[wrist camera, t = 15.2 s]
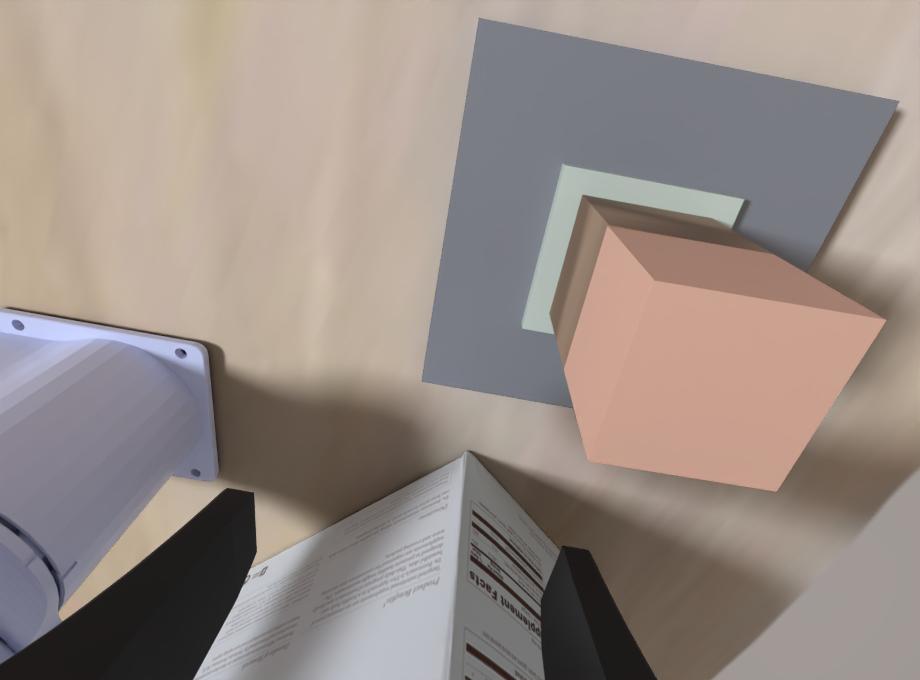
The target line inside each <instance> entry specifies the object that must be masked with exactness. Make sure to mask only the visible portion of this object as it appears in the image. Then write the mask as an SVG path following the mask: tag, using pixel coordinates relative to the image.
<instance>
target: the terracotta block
mask: <svg viewBox="0 0 920 680" xmlns="http://www.w3.org/2000/svg"><path fill="white" fill-rule="evenodd" d="M886 321H887V320H886V319H884V318H883V317H881V316H879V315H877V314H876V313H874V312H872V311H870V310H869V309H867V308H865V307H864V306H862V305H860V304H858V303H857V302H855V301H853V300H852V299H850V298H848V297H846V296H845V295H843V294H841V293H839V292H838V291H836V290H834V289H833V288H831V287H829V286H827V285H826V284H824V283H822V282H821V281H819V280H817V279H815V278H814V277H812V276H810V275H808V274H807V273H805V272H803V271H802V270H800V269H798V268H796V267H795V266H793V265H791V264H790V263H788V262H786V261H784V260H783V259H781V258H779V257H777V256H776V255H774V254H769V253H763V252H757V251H752V250H746V249H740V248H734V247H728V246H723V245H717V244H711V243H705V242H699V241H694V240H688V239H682V238H676V237H670V236H665V235H659V234H653V233H647V232H641V231H636V230H630V229H624V228H618V227H612V226H607V229H606V232H605V236H604V239H603V242H602V245H601V249H600V252H599V255H598V259H597V262H596V265H595V268H594V272H593V275H592V278H591V282H590V285H589V288H588V291H587V295H586V298H585V301H584V305H583V308H582V311H581V315H580V318H579V321H578V324H577V328H576V331H575V334H574V338H573V341H572V344H571V347H570V351H569V354H568V357H567V361H566V364H565V367H564V373H565V376H566V380H567V384H568V388H569V392H570V396H571V399H572V403H573V407H574V411H575V415H576V419H577V423H578V426H579V430H580V434H581V438H582V442H583V446H584V450H585V453H586V457H587V461H589V462H595V463H602V464H608V465H614V466H620V467H626V468H633V469H639V470H645V471H651V472H657V473H664V474H670V475H676V476H682V477H688V478H695V479H701V480H707V481H713V482H719V483H726V484H732V485H738V486H744V487H750V488H757V489H763V490H769V491H775V492H777V490H778V489H779V487H780V486H781V484H782V483H783V481H784V479H785V478H786V476H787V475H788V473H789V472H790V470H791V469H792V467H793V465H794V464H795V462H796V461H797V459H798V458H799V456H800V455H801V453H802V451H803V450H804V448H805V447H806V445H807V444H808V442H809V440H810V439H811V437H812V436H813V434H814V433H815V431H816V430H817V428H818V426H819V425H820V423H821V422H822V420H823V419H824V417H825V416H826V414H827V412H828V411H829V409H830V408H831V406H832V405H833V403H834V402H835V400H836V398H837V397H838V395H839V394H840V392H841V391H842V389H843V388H844V386H845V384H846V383H847V381H848V380H849V378H850V377H851V375H852V373H853V372H854V370H855V369H856V367H857V366H858V364H859V363H860V361H861V359H862V358H863V356H864V355H865V353H866V352H867V350H868V349H869V347H870V345H871V344H872V342H873V341H874V339H875V338H876V336H877V335H878V333H879V331H880V330H881V328H882V327H883V325H884V324H885V322H886Z"/></svg>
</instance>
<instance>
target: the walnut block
mask: <svg viewBox="0 0 920 680" xmlns="http://www.w3.org/2000/svg"><path fill="white" fill-rule="evenodd" d="M607 226H612V227H618V228H624V229H630V230H636V231H641V232H647V233H653V234H659V235H665V236H670V237H676V238H682V239H688V240H694V241H699V242H705V243H711V244H717V245H723V246H728V247H734V248H740V249H746V250H752V251H757V252H763V253H769V254H772V253H771V252H769V251H767V250H766V249H764V248H762V247H760V246H759V245H757V244H755V243H753V242H752V241H750V240H748V239H747V238H745V237H743V236H741V235H740V234H738V233H736V232H735V231H733V230H731V229H729V228H728V227H726V226H724V225H722V224H721V223H719V222H717V221H716V220H714V219H712V218H708V217H703V216H697V215H692V214H686V213H681V212H675V211H670V210H664V209H659V208H653V207H648V206H642V205H637V204H631V203H626V202H620V201H615V200H609V199H604V198H598V197H593V196H587V195H582V198H581V201H580V205H579V208H578V212H577V216H576V219H575V223H574V226H573V230H572V233H571V237H570V241H569V244H568V248H567V251H566V255H565V259H564V262H563V266H562V269H561V273H560V277H559V280H558V284H557V287H556V291H555V294H554V298H553V302H552V305H551V309H550V312H549V315H550V319H551V322H552V326H553V330H554V334H555V338H556V342H557V346H558V349H559V353H560V357H561V361H562V365H563V369H564V367H565V364H566V361H567V357H568V354H569V351H570V347H571V344H572V341H573V338H574V334H575V331H576V328H577V324H578V321H579V318H580V315H581V311H582V308H583V305H584V301H585V298H586V295H587V291H588V288H589V285H590V282H591V278H592V275H593V272H594V268H595V265H596V262H597V259H598V255H599V252H600V249H601V245H602V242H603V239H604V236H605V232H606V229H607Z"/></svg>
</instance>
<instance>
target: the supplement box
mask: <svg viewBox="0 0 920 680" xmlns="http://www.w3.org/2000/svg"><path fill="white" fill-rule="evenodd" d="M559 553H560V550H559V549H558V548H557V547H556V546H555V545H554V543H553V542H552V541H551V540H550V539H549V538H548V537H547V536H546V535H545V534H544V532H543V531H542V530H541V529H540V528H539V527H538V526H537V525H536V524H535V523H534V521H533V520H532V519H531V518H530V517H529V516H528V515H527V513H526V512H525V511H524V510H523V509H522V508H521V507H520V506H519V505H518V503H517V502H516V501H515V500H514V499H513V498H512V497H511V496H510V495H509V494H508V492H507V491H506V490H505V489H504V488H503V487H502V486H501V485H500V484H499V483H498V482H497V480H496V479H495V478H494V477H493V476H492V475H491V474H490V473H489V472H488V471H487V470H486V469H485V467H484V466H483V465H482V464H481V463H480V462H479V461H478V460H477V458H476V457H475V456H474V455H473V454H471V453H470V452H468V451H465V452H464V454H463V455H462V457H460V458H458V459H457V460H455V461H453V462H451V463H449V464H447V465H445V466H443V467H441V468H439V469H438V470H436V471H434V472H432V473H430V474H428V475H426V476H424V477H422V478H421V479H419V480H417V481H415V482H413V483H411V484H409V485H407V486H406V487H404V488H402V489H400V490H398V491H396V492H394V493H392V494H390V495H389V496H387V497H385V498H383V499H381V500H379V501H377V502H375V503H373V504H372V505H370V506H368V507H366V508H364V509H362V510H360V511H358V512H356V513H355V514H353V515H351V516H349V517H347V518H345V519H343V520H341V521H340V522H338V523H336V524H334V525H332V526H330V527H328V528H326V529H324V530H323V531H321V532H319V533H317V534H315V535H313V536H311V537H309V538H307V539H306V540H304V541H302V542H300V543H298V544H296V545H294V546H292V547H291V548H289V549H287V550H285V551H283V552H281V553H279V554H278V555H276V556H274V557H272V558H270V559H268V560H266V561H265V562H263V563H261V564H259V565H257V566H255V567H253V568H251V569H250V570H249V572H248V575H247V577H246V580H245V582H244V584H243V587H242V589H241V591H240V594H239V596H238V598H237V600H236V602H235V604H234V606H233V608H232V610H231V611H230V613H229V615H228V617H227V619H226V621H225V623H224V624H223V626H222V628H221V630H220V632H219V634H218V635H217V637H216V639H215V641H214V643H213V645H212V646H211V648H210V650H209V652H208V654H207V656H206V657H205V659H204V661H203V663H202V665H201V667H200V668H199V670H198V672H197V674H196V676H195V677H194V679H193V680H545V676H544V668H543V659H542V650H541V598H542V595H543V593H544V590H545V588H546V585H547V583H548V580H549V578H550V575H551V573H552V570H553V568H554V565H555V563H556V560H557V558H558V556H559Z"/></svg>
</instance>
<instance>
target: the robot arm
mask: <svg viewBox="0 0 920 680" xmlns="http://www.w3.org/2000/svg"><path fill="white" fill-rule="evenodd" d="M21 322H22V323H23V324H22V323H21ZM180 348H181V349H183V350H185V351H186V353H187V354H184V353H183V352H182V351H181V349H180ZM198 470H199V471H198ZM218 473H219V467H218V456H217V445H216V434H215V423H214V412H213V401H212V390H211V379H210V367H209V356H208V351H207V349H206V348H205V347H204V346H203V345H202V344H200V343H197V342H193V341H187V340H182V339H176V338H170V337H165V336H159V335H153V334H148V333H142V332H136V331H131V330H125V329H119V328H114V327H108V326H102V325H96V324H91V323H85V322H79V321H74V320H68V319H62V318H57V317H51V316H45V315H40V314H34V313H28V312H23V311H17V310H11V309H5V308H0V680H193V679H194V677H195V676H196V674H197V672H198V670H199V668H200V667H201V665H202V663H203V661H204V659H205V657H206V656H207V654H208V652H209V650H210V648H211V646H212V645H213V643H214V641H215V639H216V637H217V635H218V634H219V632H220V630H221V628H222V626H223V624H224V623H225V621H226V619H227V617H228V615H229V613H230V611H231V610H232V608H233V606H234V604H235V602H236V600H237V598H238V596H239V594H240V591H241V589H242V587H243V584H244V582H245V580H246V577H247V575H248V572H249V570H250V568H251V565H252V563H253V560H254V558H255V555H256V553H257V546H256V525H255V503H254V493H253V492H247V491H242V490H236V489H230V488H227V489H225V490H224V491H222V492H221V493H220V494H219V495H218V496H217V497H216V498H214V499H213V500H212V501H211V502H210V503H209V504H208V505H207V506H206V507H204V508H203V509H202V510H201V511H200V512H199V513H198V514H197V515H195V516H194V517H193V518H192V519H191V520H190V521H189V522H188V523H186V524H185V525H184V526H183V527H182V528H181V529H179V530H178V531H177V532H176V533H175V534H174V535H172V536H171V537H170V538H169V539H168V540H167V541H165V542H164V543H163V544H162V545H161V546H159V547H158V548H157V549H156V550H155V551H153V552H152V553H151V554H150V555H149V556H147V557H146V558H145V559H144V560H142V561H141V562H140V563H139V564H138V565H136V566H135V567H134V568H133V569H131V570H130V571H129V572H128V573H126V574H125V575H124V576H123V577H121V578H120V579H119V580H117V581H116V582H115V583H113V584H112V585H111V586H110V587H108V588H107V589H106V590H104V591H103V592H102V593H100V594H99V595H98V596H97V597H95V598H94V599H93V600H91V601H90V602H89V603H87V604H86V605H85V606H83V607H82V608H81V609H79V610H78V611H76V612H75V613H74V614H72V615H71V616H70V617H68V618H67V619H65V620H64V621H63V622H62V621H61V619H60V617H59V614H58V612H59V611H60V609H61V608H62V607H63V606H64V605H65V603H66V602H67V601H68V600H69V599H70V597H71V596H72V595H73V594H74V593H75V591H76V590H77V589H78V588H79V587H80V585H81V584H82V583H83V582H84V581H85V579H86V578H87V577H88V576H89V575H90V573H91V572H92V571H93V570H94V568H95V567H96V566H97V565H98V564H99V562H100V561H101V560H102V559H103V558H104V556H105V555H106V554H107V553H108V552H109V550H110V549H111V548H112V547H113V546H114V544H115V543H116V542H117V541H118V540H119V538H120V537H121V536H122V535H123V534H124V532H125V531H126V530H127V529H128V527H129V526H130V525H131V524H132V523H133V521H134V520H135V519H136V518H137V517H138V515H139V514H140V513H141V512H142V511H143V509H144V508H145V507H146V506H147V505H148V503H149V502H150V501H151V500H152V499H153V497H154V496H155V495H156V494H157V493H158V491H159V490H160V489H161V488H162V486H163V485H164V484H165V483H166V482H167V480H168V479H169V478H170V477H171V476H172V475H173V476H179V477H185V478H191V479H197V480H203V481H213V480H214V479H215V478H216V477H217V475H218ZM541 650H542V659H543V668H544V676H545V680H657V678H656V677H655V675H654V673H653V671H652V670H651V668H650V666H649V665H648V663H647V661H646V659H645V658H644V656H643V654H642V652H641V650H640V649H639V647H638V645H637V643H636V641H635V639H634V638H633V636H632V634H631V632H630V630H629V629H628V627H627V625H626V623H625V621H624V619H623V617H622V615H621V614H620V612H619V610H618V608H617V606H616V604H615V602H614V600H613V598H612V596H611V594H610V592H609V590H608V588H607V586H606V584H605V582H604V580H603V578H602V576H601V574H600V572H599V570H598V567H597V565H596V563H595V561H594V559H593V557H592V555H591V553H590V552H589V551H588V550H585V549H579V548H573V547H567V546H562V548H561V551H560V553H559V556H558V558H557V560H556V563H555V565H554V568H553V570H552V573H551V575H550V578H549V580H548V583H547V585H546V588H545V590H544V593H543V595H542V598H541Z"/></svg>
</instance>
